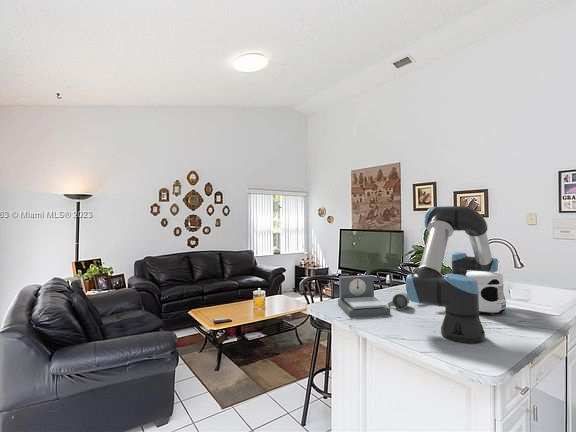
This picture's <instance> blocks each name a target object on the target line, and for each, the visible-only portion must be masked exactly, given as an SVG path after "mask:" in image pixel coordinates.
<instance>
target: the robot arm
mask: <svg viewBox="0 0 576 432" xmlns="http://www.w3.org/2000/svg"><path fill="white" fill-rule="evenodd" d="M424 227H425V229H426V230H427V232H428V236H427V237H426V238H427V239H426V241H425V242H426V243H425V245H424V249H423V251H422V257H421V260H420V263H419V266H418V267H416V268H415V269H414V271H413V273H410V274H407V276H406V278H405V290H406V291H405V293H406V294H407V296H408V298H409V300H410V301H409V302H412V303H416V304H420V305H421V304H422V305H429V306H435V307H442V308H444V309H445V310H444V311H445V312H444V313H445V314H444V318H443V321H442V323H441V327H440V334H441V336H443V337H444V338H446V339H448V340H449V341H454V342H459V343H463V344H478V343H479V344H480V343H483V342H485V340H486V333H485V330H484V327H483V324H482V321H481V319H480V313H479V290H478V283H477V281H476V280H475V279H473V278H471V277H468V276H466V273H467V272H468V271H470V272H472V271H484V272H494V273H498V271H499V259H498V258H496V257H493V255H492V252H491V247H490V243H489V239H488V235H487V232H488V224H487V221H486V218H485V217H484V216H483V215H482V214H481V213H480V212H478V210H475V209H474V208H472V207H470V206H465V205H459V206H456V205H455V206H433V207H430V208H428V209H427V211H426V213H425V216H424ZM454 231H459V232H460V231H464V232H465V233H466V234H467V235H468V238H469V241H470V244H471V247H472V251H473V255H474V256H468V255H467V253H466V252H461V251H459V252H458V251H457V252H452V253H451V273H446V274H444V275H443V274H442V273H441V271H442V268H443V264H444V258H445V254H446V251H447V245H448V242H449V238H450V237H451V236H453V234H454Z"/></svg>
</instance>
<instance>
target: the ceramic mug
mask: <svg viewBox="0 0 576 432" xmlns="http://www.w3.org/2000/svg"><path fill="white" fill-rule="evenodd" d="M410 302H411V301H410V300H409V298H408V296H407V292H404V291H402V292H398V293H396V294H394V296H392V300H391V301H389V302H388V303H387V306H388V307H392V306H394V307H395V308H396V309H399V310H404V309H406V308H407V307H408V306H409V304H410Z"/></svg>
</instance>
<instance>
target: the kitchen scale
mask: <svg viewBox="0 0 576 432" xmlns="http://www.w3.org/2000/svg"><path fill="white" fill-rule="evenodd" d="M338 279H339V281H338V282H339V283H338V284H339V285H338V288H339V289H338V290H339V298H338V299H337V305H338V306H339V308H341V310H343V312H344V313H345V314H346V315H347V316H348V317H349V318H353V317H370V316H371V317H372V316H385V315H386V316H389V315H391V308H390V306H389V305H387V304H385V303H384V302H382V301H381V300H380V299H378V298H376V297H375V292H374V291H375V286H374V284H375V283H374V275H373V274H366V275H365V274H363V275H346V276H345V275H343V276H342V275H341V276H339V277H338Z"/></svg>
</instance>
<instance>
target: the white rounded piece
mask: <svg viewBox="0 0 576 432" xmlns="http://www.w3.org/2000/svg"><path fill="white" fill-rule="evenodd" d="M466 276H468V277H471V278H473V279H475V280H476V281H477V283H478V290H479V314H484V315H486V314H488V315H497V314H498V315H499V314H502V313H503V312H505V311H506V308H507V300H506V297H505V295H504V277H503V274H501V273H498V272H484V271H467V273H466Z"/></svg>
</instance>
